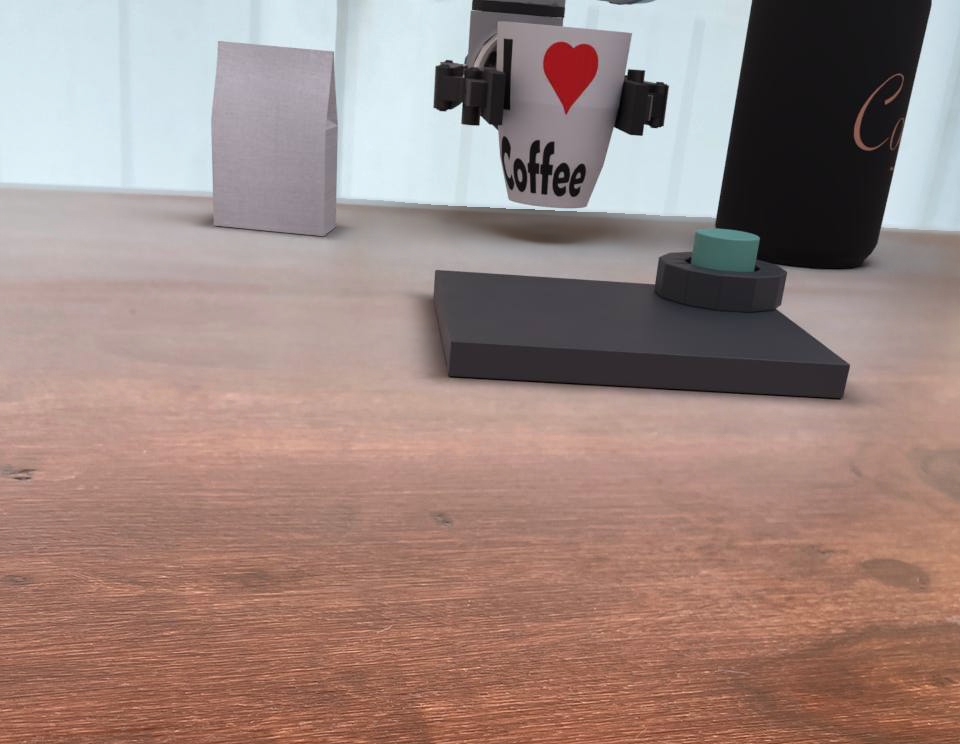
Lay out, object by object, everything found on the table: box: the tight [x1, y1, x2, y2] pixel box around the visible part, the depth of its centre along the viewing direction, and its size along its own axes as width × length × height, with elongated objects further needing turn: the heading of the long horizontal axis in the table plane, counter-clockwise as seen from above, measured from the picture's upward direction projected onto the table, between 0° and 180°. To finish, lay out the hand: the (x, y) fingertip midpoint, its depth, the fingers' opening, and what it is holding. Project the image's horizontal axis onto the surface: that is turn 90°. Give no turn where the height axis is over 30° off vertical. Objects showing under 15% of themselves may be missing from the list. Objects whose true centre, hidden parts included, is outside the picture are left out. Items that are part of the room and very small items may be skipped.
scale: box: [433, 251, 851, 399], centre depth 53 cm, size 16×14×3 cm
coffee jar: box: [714, 0, 933, 269], centre depth 75 cm, size 11×11×18 cm
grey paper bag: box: [210, 40, 339, 237], centre depth 71 cm, size 4×7×10 cm, turn 85°
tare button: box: [691, 227, 760, 272], centre depth 56 cm, size 3×3×2 cm
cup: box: [496, 21, 633, 209], centre depth 73 cm, size 8×8×10 cm
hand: (569, 105), depth 69 cm, fingers closed on cup, 8 cm apart
